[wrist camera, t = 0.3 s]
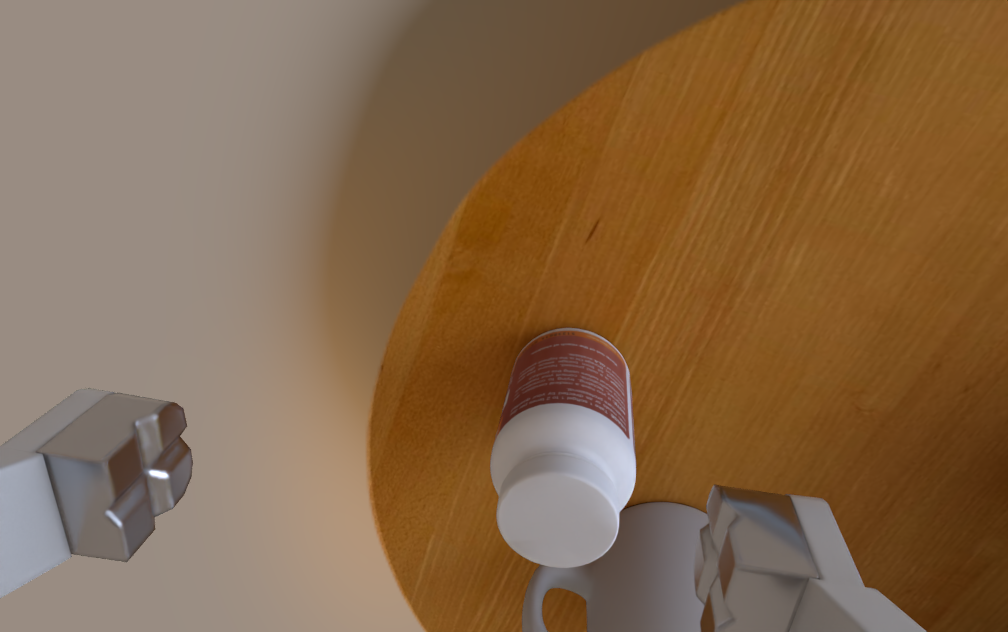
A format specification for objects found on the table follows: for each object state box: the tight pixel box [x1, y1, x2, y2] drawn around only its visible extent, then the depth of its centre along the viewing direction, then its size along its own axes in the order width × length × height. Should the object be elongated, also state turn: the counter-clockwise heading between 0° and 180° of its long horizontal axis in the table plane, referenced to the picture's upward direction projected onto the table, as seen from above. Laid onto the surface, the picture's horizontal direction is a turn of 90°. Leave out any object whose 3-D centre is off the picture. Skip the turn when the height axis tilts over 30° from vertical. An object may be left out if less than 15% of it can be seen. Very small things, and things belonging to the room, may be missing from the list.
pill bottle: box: [490, 328, 636, 568], centre depth 30 cm, size 6×6×11 cm
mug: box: [522, 502, 709, 632], centre depth 35 cm, size 12×8×11 cm
